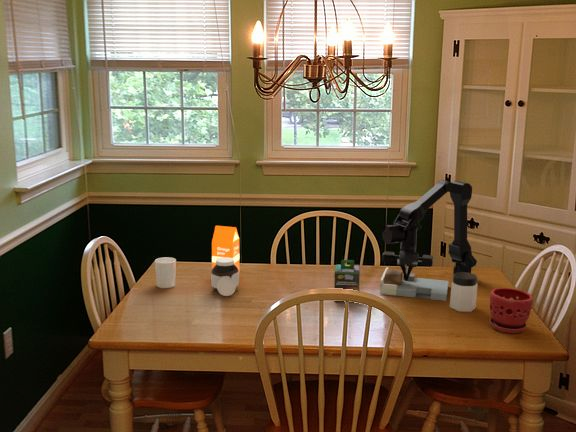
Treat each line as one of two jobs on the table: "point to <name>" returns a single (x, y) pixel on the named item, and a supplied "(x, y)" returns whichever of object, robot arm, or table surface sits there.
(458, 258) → the robot arm
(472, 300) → the jar
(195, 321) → the table surface
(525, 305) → the plant pot
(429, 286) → the deck
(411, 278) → the gray block
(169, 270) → the white cup
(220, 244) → the orange juice
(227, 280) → the spread jar
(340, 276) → the chalk box
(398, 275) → the walnut block
